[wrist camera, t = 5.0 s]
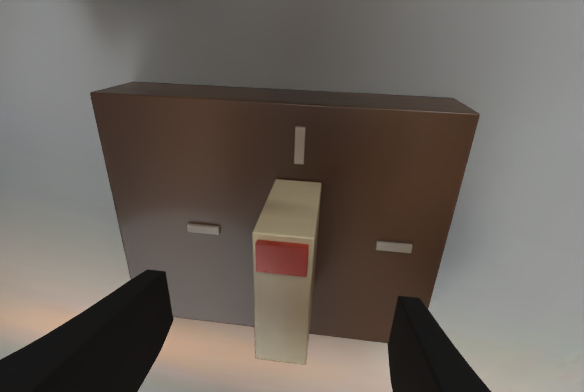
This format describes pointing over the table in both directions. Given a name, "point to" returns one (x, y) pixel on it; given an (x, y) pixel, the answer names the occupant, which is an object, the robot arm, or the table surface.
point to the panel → (285, 166)
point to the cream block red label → (285, 270)
